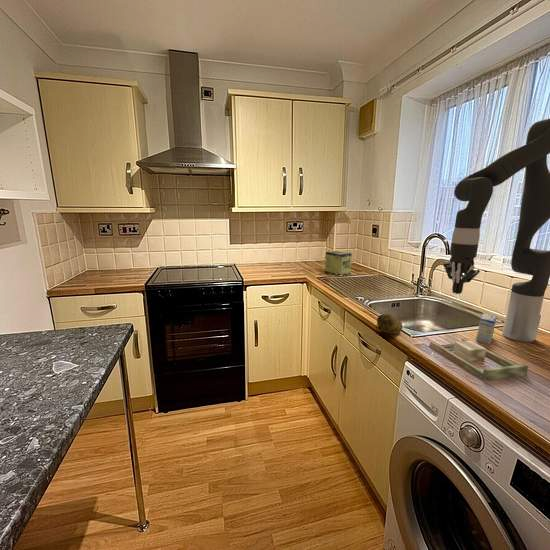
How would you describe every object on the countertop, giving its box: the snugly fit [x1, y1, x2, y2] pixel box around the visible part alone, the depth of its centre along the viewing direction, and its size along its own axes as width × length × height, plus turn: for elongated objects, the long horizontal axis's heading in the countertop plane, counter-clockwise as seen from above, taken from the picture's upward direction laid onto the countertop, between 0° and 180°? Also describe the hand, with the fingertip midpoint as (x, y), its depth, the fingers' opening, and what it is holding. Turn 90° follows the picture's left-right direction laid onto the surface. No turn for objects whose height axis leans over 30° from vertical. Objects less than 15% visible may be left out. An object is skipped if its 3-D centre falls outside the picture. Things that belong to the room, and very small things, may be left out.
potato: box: [376, 313, 403, 335], centre depth 113 cm, size 8×13×8 cm, turn 112°
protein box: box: [324, 250, 353, 276], centre depth 213 cm, size 10×16×16 cm
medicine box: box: [475, 313, 497, 345], centre depth 109 cm, size 8×4×9 cm, turn 141°
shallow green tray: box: [429, 337, 529, 381], centre depth 95 cm, size 14×22×3 cm, turn 12°
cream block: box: [453, 340, 487, 362], centre depth 97 cm, size 6×6×4 cm
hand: (456, 293), depth 101 cm, fingers closed
